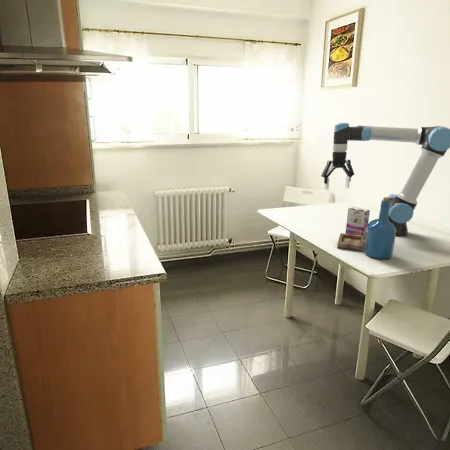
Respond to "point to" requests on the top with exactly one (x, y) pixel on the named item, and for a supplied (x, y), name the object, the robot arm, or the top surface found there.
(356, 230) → the candy bar box
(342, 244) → the tray
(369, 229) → the wine bottle
